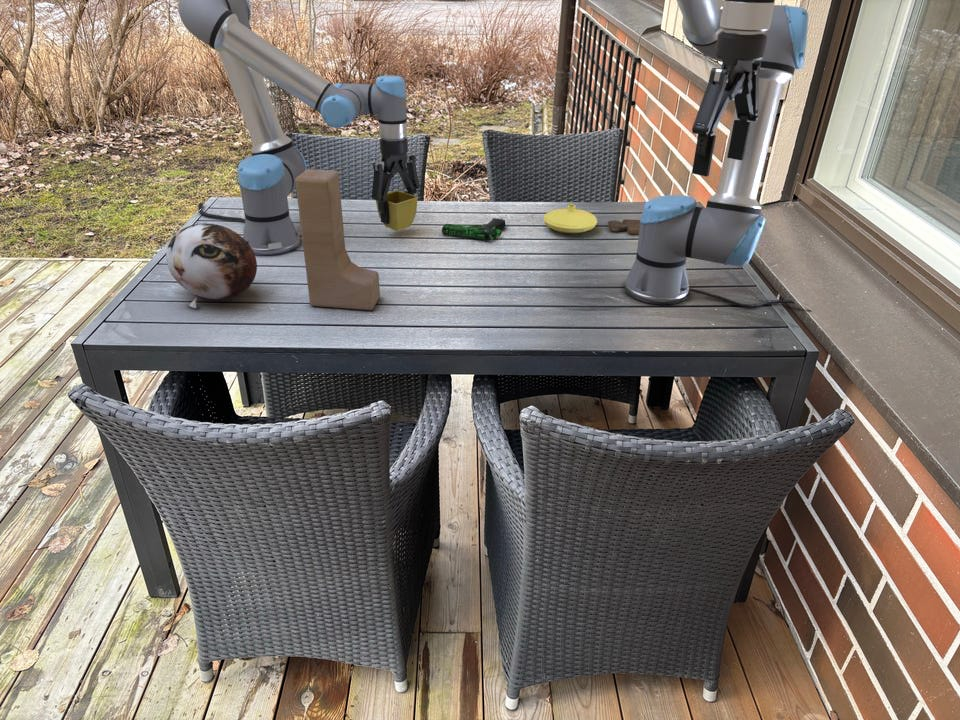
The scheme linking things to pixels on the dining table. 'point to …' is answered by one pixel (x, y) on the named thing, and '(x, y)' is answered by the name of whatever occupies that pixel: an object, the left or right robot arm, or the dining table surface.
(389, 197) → the square tapered planter
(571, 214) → the yellow knobbed lid
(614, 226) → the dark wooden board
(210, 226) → the cat face balloon
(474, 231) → the handgun
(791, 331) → the dining table surface
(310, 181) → the decorative block
